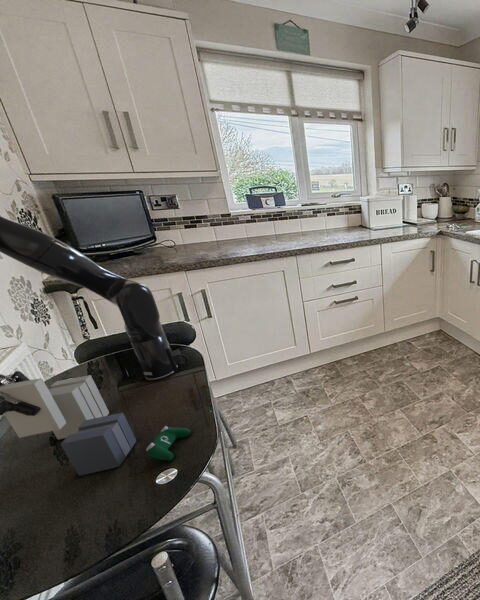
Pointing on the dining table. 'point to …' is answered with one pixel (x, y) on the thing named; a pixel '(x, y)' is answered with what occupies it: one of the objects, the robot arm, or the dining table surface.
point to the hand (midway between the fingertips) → (42, 407)
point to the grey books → (99, 444)
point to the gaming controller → (165, 442)
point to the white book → (40, 397)
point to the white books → (77, 403)
